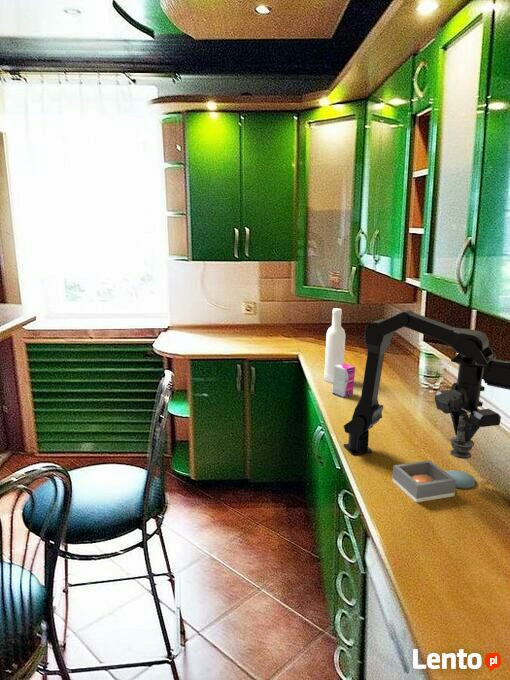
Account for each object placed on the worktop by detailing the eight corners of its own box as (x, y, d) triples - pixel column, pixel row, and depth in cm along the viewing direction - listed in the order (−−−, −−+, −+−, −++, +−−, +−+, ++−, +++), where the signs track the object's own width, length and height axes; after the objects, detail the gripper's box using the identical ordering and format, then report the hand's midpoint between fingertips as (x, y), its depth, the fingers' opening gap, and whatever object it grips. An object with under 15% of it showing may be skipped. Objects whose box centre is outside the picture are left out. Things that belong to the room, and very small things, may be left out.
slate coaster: (434, 475, 145) (435, 472, 145) (461, 471, 148) (461, 468, 147) (454, 490, 137) (454, 487, 137) (481, 486, 140) (482, 483, 140)
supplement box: (343, 398, 202) (345, 369, 200) (332, 394, 207) (333, 365, 204) (353, 395, 206) (355, 366, 203) (342, 390, 210) (343, 362, 208)
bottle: (322, 381, 221) (325, 310, 214) (326, 376, 228) (329, 306, 221) (341, 384, 218) (345, 311, 211) (344, 378, 226) (348, 308, 218)
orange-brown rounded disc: (407, 480, 140) (407, 476, 139) (425, 477, 141) (426, 473, 141) (419, 491, 135) (420, 486, 134) (438, 487, 136) (439, 483, 136)
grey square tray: (392, 480, 142) (393, 465, 141) (428, 475, 145) (429, 460, 144) (415, 502, 132) (417, 485, 130) (454, 496, 135) (456, 479, 134)
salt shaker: (467, 449, 144) (472, 407, 141) (476, 459, 138) (482, 415, 135) (445, 449, 143) (450, 406, 140) (453, 459, 138) (459, 415, 135)
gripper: (420, 372, 142) (414, 427, 146) (466, 396, 125) (459, 457, 129) (456, 369, 145) (449, 423, 149) (506, 392, 128) (497, 452, 132)
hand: (462, 438), depth 140 cm, fingers closed on salt shaker, 3 cm apart
